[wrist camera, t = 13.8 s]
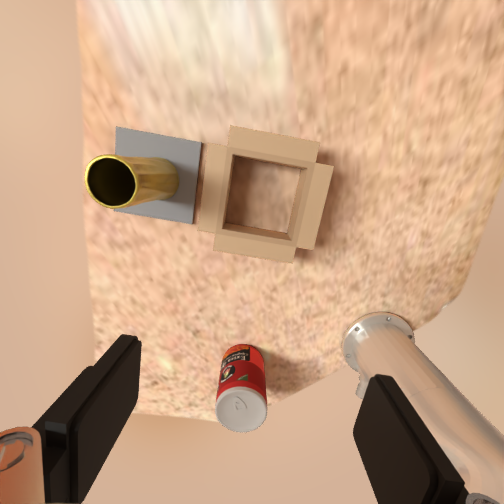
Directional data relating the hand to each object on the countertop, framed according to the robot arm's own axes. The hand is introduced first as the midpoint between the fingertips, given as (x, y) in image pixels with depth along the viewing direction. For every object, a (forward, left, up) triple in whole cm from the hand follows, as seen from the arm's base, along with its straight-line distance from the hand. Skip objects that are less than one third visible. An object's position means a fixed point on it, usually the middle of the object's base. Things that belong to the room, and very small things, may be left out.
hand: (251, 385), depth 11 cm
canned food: (-25, -3, -33) cm, 42 cm away
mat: (+5, +15, -33) cm, 37 cm away
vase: (+5, +15, -33) cm, 36 cm away
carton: (+5, -1, -33) cm, 33 cm away
